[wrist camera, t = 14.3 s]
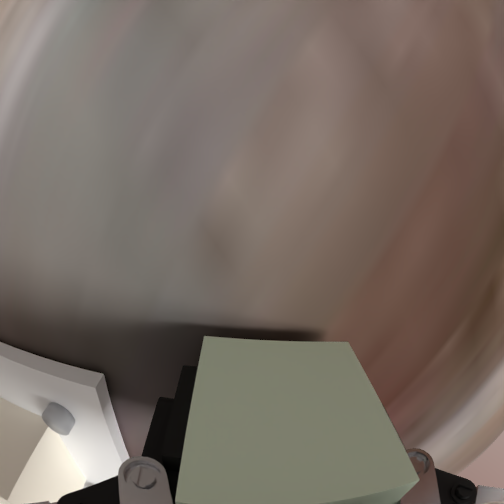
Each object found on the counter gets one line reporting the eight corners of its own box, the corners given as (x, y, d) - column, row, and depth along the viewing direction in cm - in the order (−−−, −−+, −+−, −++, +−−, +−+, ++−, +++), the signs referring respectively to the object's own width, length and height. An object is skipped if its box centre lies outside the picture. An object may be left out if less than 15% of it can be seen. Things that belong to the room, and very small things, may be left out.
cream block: (-21, 385, 10) (-67, 440, 4) (51, 420, 10) (7, 500, 4) (16, 448, 12) (-13, 499, 6) (86, 479, 12) (62, 544, 6)
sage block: (204, 335, 9) (175, 501, 4) (347, 341, 10) (419, 479, 4) (203, 427, 11) (192, 550, 5) (317, 429, 11) (345, 542, 5)
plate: (-58, 314, 10) (-73, 325, 8) (103, 373, 10) (88, 400, 9) (8, 449, 13) (1, 462, 12) (149, 503, 14) (145, 521, 12)
